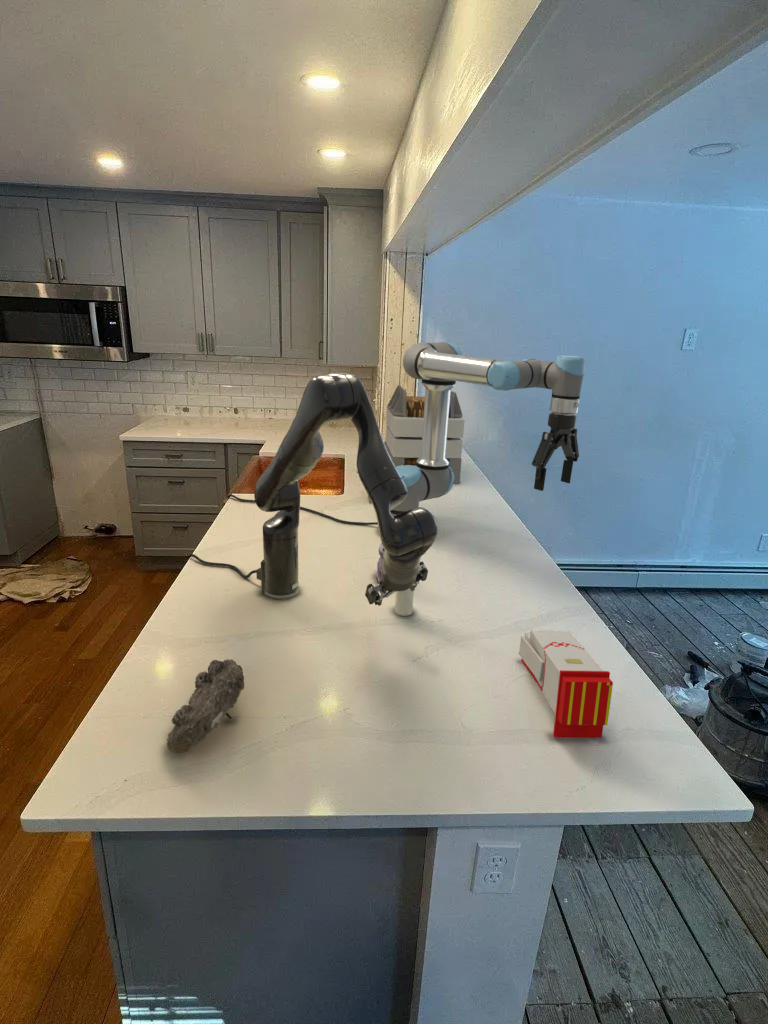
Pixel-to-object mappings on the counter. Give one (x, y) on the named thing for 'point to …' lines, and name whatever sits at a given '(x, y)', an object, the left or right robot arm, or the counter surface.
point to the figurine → (380, 562)
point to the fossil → (206, 705)
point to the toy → (568, 682)
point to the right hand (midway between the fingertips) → (552, 485)
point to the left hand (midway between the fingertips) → (394, 594)
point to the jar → (404, 602)
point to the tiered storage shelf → (420, 430)
